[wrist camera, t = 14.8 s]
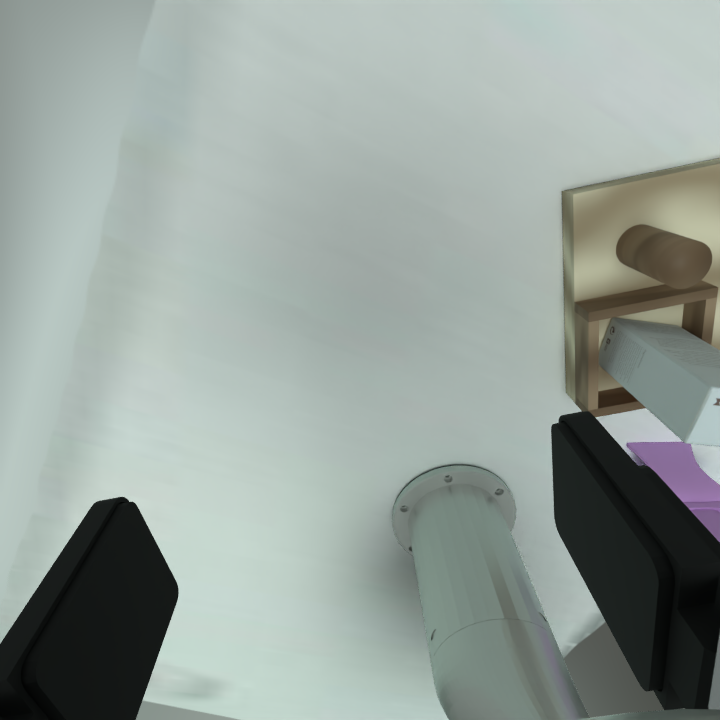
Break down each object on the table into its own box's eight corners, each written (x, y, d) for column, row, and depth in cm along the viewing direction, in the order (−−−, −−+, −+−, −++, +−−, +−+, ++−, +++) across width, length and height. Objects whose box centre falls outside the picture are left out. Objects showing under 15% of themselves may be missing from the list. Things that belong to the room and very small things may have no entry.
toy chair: (597, 511, 51) (688, 648, 38) (616, 442, 48) (725, 567, 34) (674, 510, 52) (792, 646, 38) (699, 441, 48) (840, 564, 34)
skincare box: (593, 362, 41) (681, 444, 31) (610, 315, 40) (711, 385, 29) (659, 370, 42) (770, 454, 31) (680, 324, 40) (804, 396, 29)
